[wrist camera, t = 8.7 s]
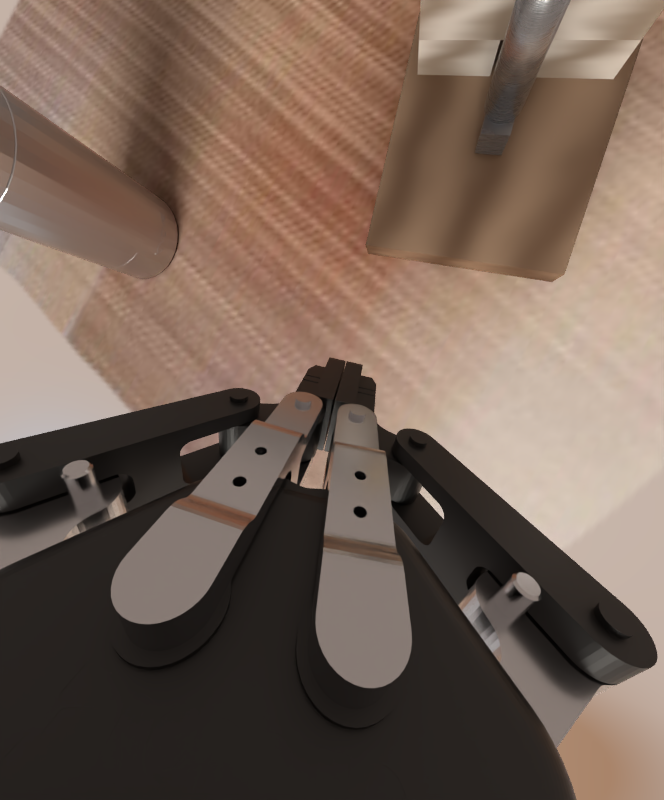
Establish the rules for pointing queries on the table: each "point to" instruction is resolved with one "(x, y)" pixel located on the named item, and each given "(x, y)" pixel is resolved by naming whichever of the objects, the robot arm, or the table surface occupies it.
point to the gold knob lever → (518, 68)
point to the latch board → (526, 147)
